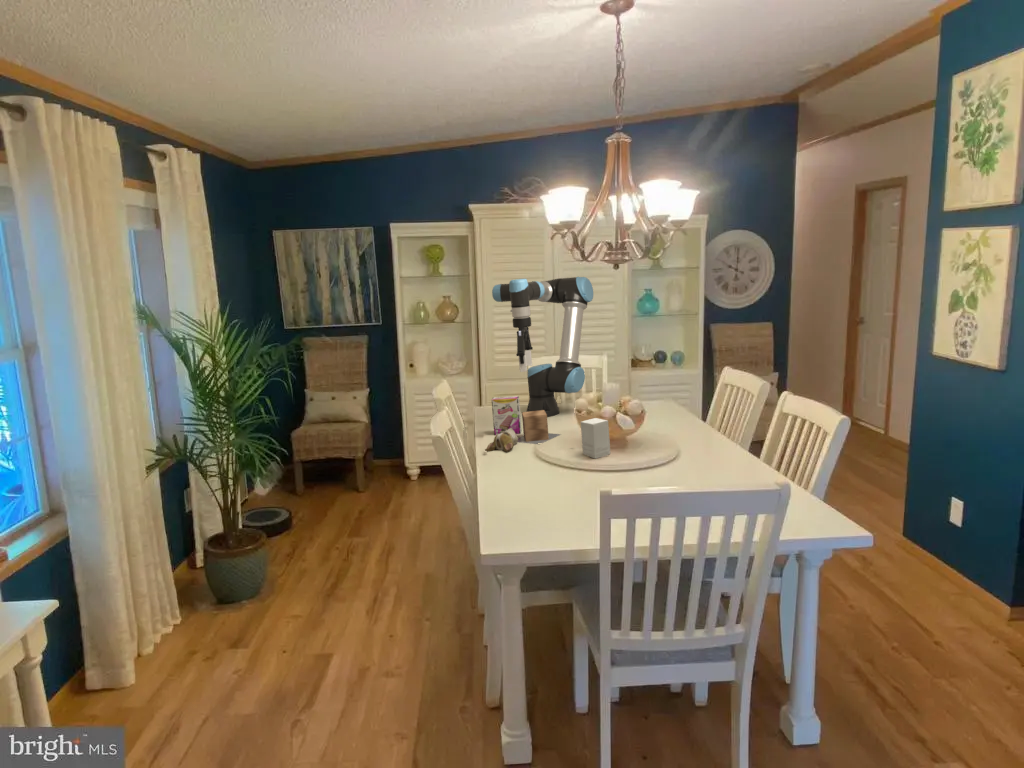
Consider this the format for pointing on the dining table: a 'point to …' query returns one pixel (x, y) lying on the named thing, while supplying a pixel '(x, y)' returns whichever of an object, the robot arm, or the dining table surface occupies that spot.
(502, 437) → the ceramic sculpture
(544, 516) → the dining table surface
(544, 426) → the wooden block
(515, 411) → the candy bar box
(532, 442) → the board
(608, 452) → the supplement box
